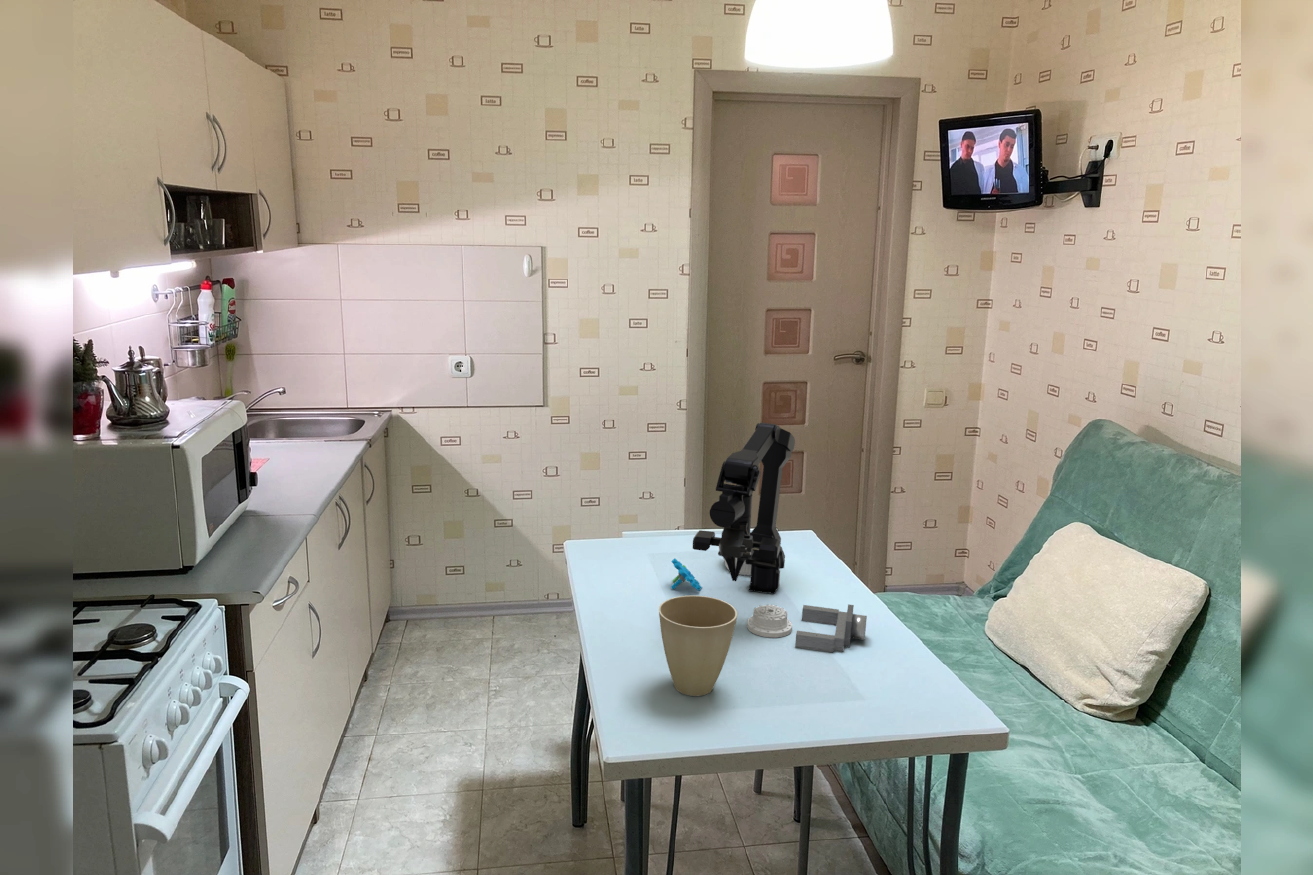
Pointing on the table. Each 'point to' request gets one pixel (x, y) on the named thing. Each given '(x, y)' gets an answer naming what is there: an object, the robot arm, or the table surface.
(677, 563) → the gear
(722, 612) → the plant pot
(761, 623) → the mechanical component
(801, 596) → the table surface
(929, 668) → the table surface
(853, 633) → the clevis bracket
